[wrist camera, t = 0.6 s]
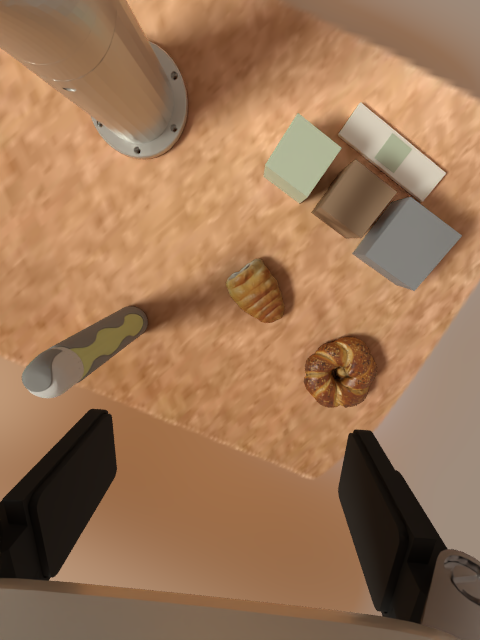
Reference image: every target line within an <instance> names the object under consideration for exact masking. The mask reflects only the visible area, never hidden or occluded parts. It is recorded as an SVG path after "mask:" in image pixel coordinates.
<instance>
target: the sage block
mask: <svg viewBox="0 0 480 640" xmlns="http://www.w3.org/2000/svg"><path fill="white" fill-rule="evenodd" d="M340 150H341V147H340V146H339V145H337V144H336V143H335V142H334V141H332V140H331V139H330V138H329V137H327V136H326V135H325V134H324V133H322V132H321V131H320V130H319V129H317V128H316V127H315V126H314V125H312V124H311V123H310V122H309V121H307V120H306V119H305V118H304V117H302V116H301V115H300V114H299V113H298V114H297V115H296V117H295V118H294V120H293V122H292V123H291V125H290V126H289V128H288V130H287V131H286V133H285V134H284V136H283V137H282V139H281V141H280V142H279V144H278V145H277V147H276V149H275V150H274V152H273V153H272V155H271V156H270V158H269V160H268V161H267V163H266V164H265V170H264V177H265V178H266V179H267V180H269V181H270V182H271V183H273V184H274V185H275V186H277V187H278V188H279V189H281V190H282V191H283V192H285V193H286V194H287V195H289V196H290V197H291V198H293V199H294V200H295V201H297V202H298V203H299V204H300V203H301V202H302V201H304V200H305V199H306V198H307V197H308V196H309V194H310V193H311V191H312V190H313V189H314V187H315V186H316V184H317V183H318V181H319V180H320V178H321V177H322V176H323V174H324V173H325V171H326V170H327V168H328V167H329V166H330V164H331V163H332V161H333V160H334V158H335V157H336V156H337V154H338V153H339V151H340Z"/></svg>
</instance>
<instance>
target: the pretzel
mask: <svg viewBox="0 0 480 640" xmlns="http://www.w3.org/2000/svg"><path fill="white" fill-rule="evenodd" d="M334 369H335V370H336V374H337V376H338V378H337V377H336V378H335V379H334V378H333V375H332V370H334ZM376 372H377V367H376V364H375V361H374V359H373V358H372V357H371V354H370V351H369V348H368V347H367V346H366V344H365V343H364V342H362V341H361V340H360V339H357V338H355V337H343V338H339V339H337V340H335V341H334V342H333V343H325V344H323V345H322V346H320V347H319V348H318V350H317V351H316V352H315V355H311V356H310V357H309V358H308V359H307V361H306V364H305V373H306V377H305V378H304V383H305V386H306V389H307V390H308V391H309V392H310V394H311V395H312V396H313V397H314V398H315V399H316V401H317V402H318V403H320V405H323V406H325V407H331V408H332V407H338V406H339V405H342V406H344V407H345V408H346V407H352V406H355V405H357V404H360V403H361V402H363V401H364V399H365V398H366V396H367V394H368V390H369V385H370V384H371V383H372V381H373V380H374V378H375V377H376Z"/></svg>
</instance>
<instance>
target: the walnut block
mask: <svg viewBox="0 0 480 640" xmlns="http://www.w3.org/2000/svg"><path fill="white" fill-rule="evenodd" d="M396 193H397V192H396V191H395V190H394V189H393V188H391V187H390V186H389V185H388V184H386V183H385V182H384V181H383V180H381V179H380V178H379V177H377V176H376V175H375V174H374V173H372V172H371V171H370V170H369V169H367V168H366V167H365V166H364V165H362V164H361V163H360V162H359V161H357V160H356V159H355V160H354V161H353V162H352V163H351V164H349V165H348V166H347V167H346V168H345V169H343V170H342V171H341V172H340V173H339V174H338V176H337V177H336V179H335V180H334V181H333V183H332V184H331V186H330V187H329V189H328V190H327V191H326V193H325V194H324V196H323V197H322V198H321V200H320V201H319V203H318V204H317V205H316V207H315V208H314V210H313V211H312V212H311V213H313V214H314V215H315V216H317V217H318V218H319V219H321V220H322V221H323V222H325V223H326V224H327V225H329V226H330V227H331V228H333V229H334V230H335V231H337V232H338V233H339V234H341V235H342V236H343V237H344V238H362V236H363V235H364V234H365V232H366V231H367V230H368V229H369V227H370V226H371V225H372V224H373V222H374V221H375V220H376V218H377V217H378V216H379V215H380V213H381V212H382V211H383V210H384V208H385V207H386V206H387V204H388V203H389V202H390V201H391V199H392V198H393V197H394V196H395V194H396Z"/></svg>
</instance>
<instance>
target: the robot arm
mask: <svg viewBox="0 0 480 640" xmlns="http://www.w3.org/2000/svg"><path fill="white" fill-rule="evenodd" d="M0 48H1V49H3V50H4V51H5V52H7V53H8V54H10V55H11V56H12V57H14V58H15V59H16V60H18V61H19V62H20V63H22V64H23V65H24V66H26V67H27V68H28V69H29V70H31V71H32V72H33V73H35V74H36V75H37V76H38V77H40V78H41V79H42V80H44V81H45V82H46V83H48V84H49V85H50V86H52V87H53V88H54V89H56V90H57V91H58V92H60V93H61V94H62V95H64V96H65V97H66V98H68V99H69V100H70V101H72V102H73V103H74V104H76V105H77V106H78V107H80V108H81V109H82V110H84V111H85V112H86V113H88V114H89V115H90V116H91V118H92V121H93V123H94V125H95V127H96V129H97V131H98V132H99V134H100V135H101V136H102V138H103V139H104V140H105V141H106V142H107V143H108V144H109V145H110V146H111V147H113V148H114V149H115V150H117V151H118V152H120V153H122V154H124V155H126V156H128V157H131V158H136V159H150V158H155V157H157V156H160V155H162V154H164V153H165V152H167V151H168V150H169V149H171V148H172V146H173V145H174V144H175V143H176V142H177V141H178V139H179V137H180V136H181V134H182V132H183V129H184V126H185V124H186V119H187V114H188V98H187V91H186V87H185V84H184V81H183V78H182V76H181V73H180V71H179V69H178V68H177V66H176V64H175V63H174V61H173V59H172V58H171V57H170V56H169V55H168V54H167V53H166V51H164V50H163V49H162V48H160V47H159V46H158V45H156V44H154V43H152V42H150V41H148V39H147V38H146V36H145V34H144V32H143V30H142V28H141V27H140V25H139V23H138V21H137V19H136V17H135V15H134V14H133V12H132V10H131V8H130V6H129V4H128V3H127V1H126V0H0ZM175 78H177V79H176V80H174V79H175ZM102 125H103V126H102ZM175 129H177V131H176V132H174V130H175ZM140 150H141V152H140V153H138V152H139V151H140ZM116 470H117V465H116V455H115V444H114V434H113V423H112V416H111V415H110V414H108V411H107V410H101V409H91V410H89V411H88V412H87V413H86V414H85V415H84V416H83V417H82V418H81V419H80V420H79V421H78V422H77V423H76V424H75V425H74V426H73V427H72V428H71V429H70V430H69V431H68V432H67V433H66V435H65V436H64V437H63V438H62V439H61V440H60V441H59V442H58V443H57V444H56V445H55V446H54V447H53V448H52V449H51V450H50V451H49V452H48V453H47V454H46V455H45V456H44V457H43V458H42V459H41V460H40V461H39V462H38V463H37V464H36V465H35V466H34V467H33V468H32V469H31V470H30V471H29V472H28V473H27V475H26V476H25V477H24V478H23V479H22V480H21V481H20V482H19V483H18V484H17V485H16V486H15V487H14V488H13V489H12V490H11V491H10V492H9V493H8V494H7V495H6V496H5V497H4V498H3V500H2V501H1V502H0V640H480V562H479V561H478V560H477V559H475V558H474V557H472V556H470V555H468V554H466V553H464V552H461V551H458V550H454V549H447V547H446V546H445V544H444V543H443V541H442V539H441V538H440V536H439V534H438V533H437V531H436V530H435V528H434V526H433V525H432V523H431V522H430V520H429V518H428V517H427V515H426V513H425V512H424V510H423V509H422V507H421V505H420V504H419V502H418V501H417V499H416V497H415V496H414V494H413V492H412V491H411V489H410V488H409V486H408V485H407V483H406V481H405V480H404V478H403V477H402V475H401V474H400V473H399V472H398V471H397V470H395V469H394V468H393V466H392V464H391V463H390V461H389V459H388V458H387V456H386V454H385V453H384V451H383V449H382V448H381V446H380V444H379V443H378V441H377V439H376V438H375V436H374V434H373V433H372V432H371V431H368V430H354V431H353V433H349V436H348V440H347V446H346V451H345V456H344V461H343V466H342V472H341V477H340V482H339V488H338V493H339V499H340V502H341V505H342V508H343V511H344V514H345V517H346V521H347V524H348V527H349V530H350V533H351V536H352V539H353V542H354V545H355V548H356V552H357V555H358V558H359V561H360V564H361V567H362V570H363V573H364V576H365V579H366V583H367V586H368V589H369V592H370V595H371V598H372V601H373V604H374V607H375V608H376V610H377V611H381V613H382V616H375V615H368V614H359V613H353V612H345V611H338V610H330V609H321V608H312V607H303V606H294V605H285V604H276V603H267V602H258V601H249V600H240V599H230V598H221V597H210V596H202V595H192V594H183V593H173V592H162V591H153V590H143V589H133V588H122V587H111V586H102V585H92V584H81V583H72V582H59V581H49V579H50V578H51V577H54V576H56V575H57V573H58V572H59V570H60V569H61V567H62V565H63V564H64V562H65V560H66V559H67V557H68V555H69V554H70V552H71V550H72V549H73V547H74V545H75V544H76V542H77V540H78V538H79V537H80V535H81V533H82V532H83V530H84V528H85V527H86V525H87V523H88V521H89V520H90V518H91V517H92V515H93V513H94V512H95V510H96V508H97V506H98V505H99V503H100V501H101V500H102V498H103V496H104V495H105V493H106V491H107V490H108V488H109V486H110V484H111V483H112V481H113V479H114V478H115V475H116Z"/></svg>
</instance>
